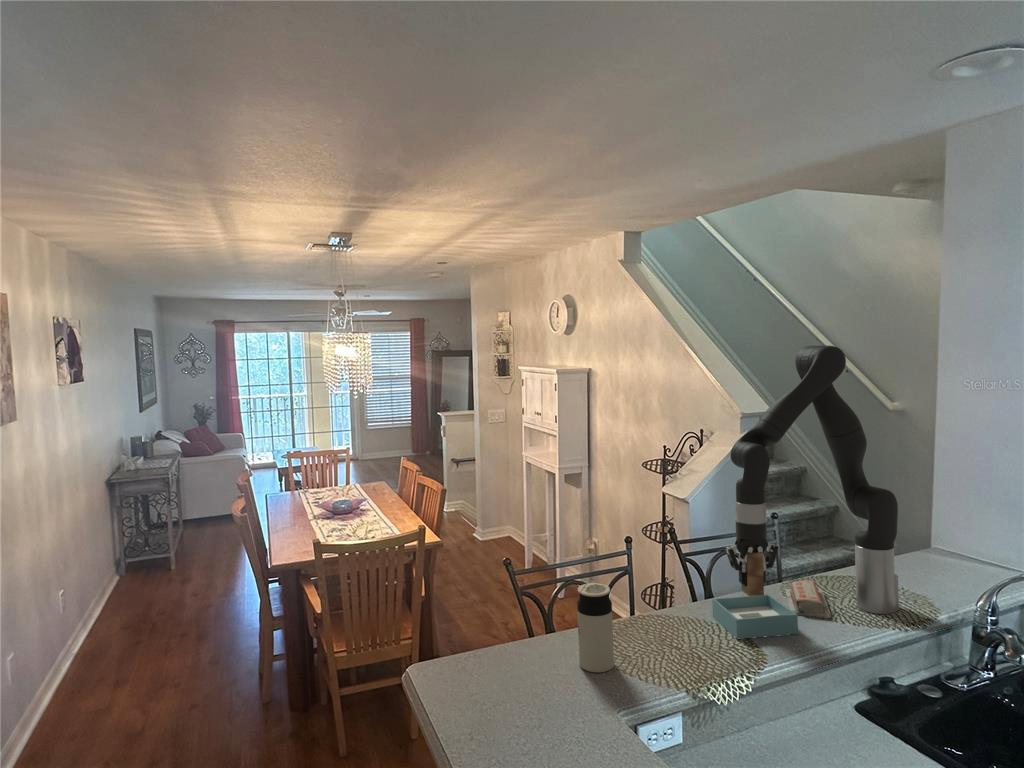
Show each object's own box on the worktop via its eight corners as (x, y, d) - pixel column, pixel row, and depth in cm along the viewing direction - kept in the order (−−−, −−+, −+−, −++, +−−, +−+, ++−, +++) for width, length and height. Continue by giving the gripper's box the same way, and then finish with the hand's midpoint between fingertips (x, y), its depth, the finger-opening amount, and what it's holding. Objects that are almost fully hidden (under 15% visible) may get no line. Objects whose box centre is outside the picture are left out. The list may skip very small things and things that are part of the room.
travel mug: (619, 661, 144) (616, 585, 143) (606, 676, 137) (603, 597, 136) (587, 654, 148) (585, 580, 147) (573, 669, 141) (570, 591, 140)
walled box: (769, 612, 167) (768, 594, 167) (798, 634, 153) (797, 614, 153) (712, 616, 166) (712, 598, 166) (737, 639, 152) (736, 620, 152)
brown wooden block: (756, 589, 161) (755, 548, 161) (763, 595, 157) (763, 552, 157) (741, 590, 161) (740, 549, 161) (749, 596, 157) (748, 553, 157)
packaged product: (831, 602, 162) (789, 598, 165) (831, 620, 162) (790, 616, 165) (822, 578, 179) (784, 576, 182) (822, 595, 179) (785, 592, 182)
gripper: (769, 514, 163) (770, 577, 164) (718, 517, 162) (719, 581, 162) (784, 521, 156) (786, 587, 156) (731, 524, 154) (732, 591, 155)
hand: (752, 584), depth 159 cm, fingers closed on brown wooden block, 4 cm apart
